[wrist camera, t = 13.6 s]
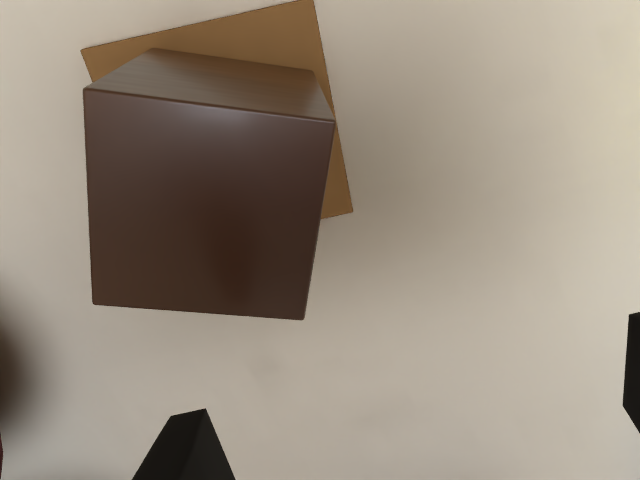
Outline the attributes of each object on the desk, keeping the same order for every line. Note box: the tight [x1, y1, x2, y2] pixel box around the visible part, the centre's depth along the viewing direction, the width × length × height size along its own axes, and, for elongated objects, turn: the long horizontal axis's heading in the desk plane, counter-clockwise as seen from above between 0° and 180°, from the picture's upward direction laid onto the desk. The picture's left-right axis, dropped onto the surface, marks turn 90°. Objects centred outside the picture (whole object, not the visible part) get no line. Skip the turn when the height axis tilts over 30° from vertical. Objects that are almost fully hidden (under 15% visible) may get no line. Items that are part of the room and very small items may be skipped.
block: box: [83, 48, 336, 320], centre depth 13 cm, size 4×4×6 cm
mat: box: [81, 0, 353, 219], centre depth 16 cm, size 6×6×1 cm
